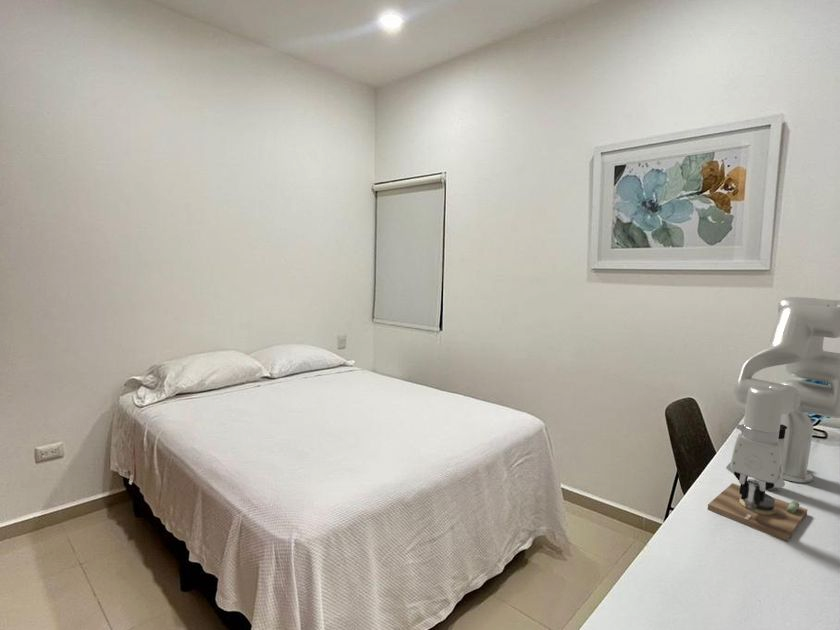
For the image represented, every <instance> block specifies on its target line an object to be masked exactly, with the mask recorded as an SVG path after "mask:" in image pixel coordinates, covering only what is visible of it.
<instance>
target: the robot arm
mask: <svg viewBox="0 0 840 630" xmlns="http://www.w3.org/2000/svg"><path fill="white" fill-rule="evenodd" d="M777 313H778V315H777V319H776V322H775V326H774V328H773V330H772V334H771V337H770V340H769V344H768V346H767V347H765V348H764V349H762V350H760V351H758V352H756V353H754V354H753V355H752V356H750V357H749V358H748V359H747V360H746V361H744V362H743V364H742V365H741V367H740V369H739V372H738V374H737V377H736V380H735V383H734V388H733V396H734V398H735V400H736V401H737V402H739V403H740V404H743V405H745V410H744V411H745V412H744V417H743V424H738V423H737V424H736V429H737V430H739V431H741V432H740V433H739V434H738V435H737V437H736V440H735V443H734V446H733V450H732V456H731V458H730V459H731V460H730V462H729V464H727V465H726V467H725V469H726V470H727V471H728V472H730V473H731V474H733V475H734V477H735V478H736V479H737V480H738V482H739V486H740V492H739V494H742V496H741V499H743V500H744V499H745V498H746V492H747V484H748V478H752V479H753V478H755V479H758V480H760V486H759V488H758V489H757V492H756V499H755V503H756V504H757V505H759V503H760V502H763V501H764V497H765V494H766V491H769V490H768V489H770V488H773V487H777V488H784V487H785V486H786V485H785V481H789V482H792V483H800V484H801V483H805V484H806V483H810V482H811V481H812V480H813V476H812V474H811V473H810V472H808V466H809V465H808V464H809V460H810V459H809V458H810V453H811V445H812V440H813V433H814V423H813V422H812V420H811V418H810V417H809V416H808V414H813V415H818V416H822V417H827V418H833V419H840V352H835V351H826V350H824V341H825V338H829V339H830V338H831V339H838V338H840V300H839V299H827V298H813V297H801V296H800V297H799V296H789V297H784V298H781V299H780V300H779V302H778V305H777ZM782 365H785V371H786V373H787V374H788V375H790V376H792V377H795V378H801V379H805V380H811V381H816V382H820V383H821V382H822V383H827V384H828V385H827V384H822V383H821V384H820V383H815V382H810V381H804V380H799V379H784V380H782V381H780V382H774V381H768V380H765V379H764V380H762V379H760V378H759V379H758V378H754V376H755V374H757V373H758V372H759V371H761V370H763V369H766V368H771V367H778V366H782ZM807 413H808V414H807ZM780 425H785V426H786V427H787V429H786V431H785V439H784V446H783V453H782V452H781V444H780V443H779V442H778V437H779V431H780Z"/></svg>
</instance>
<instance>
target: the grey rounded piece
mask: <svg viewBox="0 0 840 630" xmlns="http://www.w3.org/2000/svg"><path fill="white" fill-rule="evenodd" d="M747 481H748V484H747V492H746V498H745V499H744V500H743V501H744V502H745V508H747V509H749V510H752V511H755V510H756V509H757V508H758V509H761V510H773V509H774V504H775V500H774V498H775V497H774V498H773V496H771V495H769V494H767V493H765V497H764V501H763V502H760V503H759V505H757V504H756V503H755V499H756V492H757V489H758V488H759V482H758V481H756V480H753V478H752V479H751V478H749V479H747Z"/></svg>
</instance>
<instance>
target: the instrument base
mask: <svg viewBox="0 0 840 630" xmlns="http://www.w3.org/2000/svg"><path fill="white" fill-rule="evenodd" d="M739 492H740V484H738V483H737V484H736V483H733V482H732V483H731V484H730V485H729V486H728V487H726V488H725V489H724V490H723V491H721V493H719V494H718V495H717V496H716V497H715V498H713V499H712V500H711V501H710V502H709V503H708V504H707V510H709V511H710V510H711V512H712V513H716V514H719V515H721V516H723V517H726V518H728V519H730V520H732V521H736V522H738V523H740V524H743V525H745V526H748V527H749V528H750V527H751V528H753V529H755V530H758V531H761V532H763V533H766V534H768V535H770V536H773V537H775V538H777V539H779V540H783V541H785V542H787V543H788V542H789V540H791V538H792V536H793V535H794V534H795V532H796V531H797V529H798V528H799V527H800V525H801V524H802V522H803V521H804V519H805V518H806V516H807V514H808V509H807V508H804V507H802V506H800V503H799V502H798V501H796V500H792V501H791V502H787V501H785V500H782V499H779V498H776V497H773V496H772V497H773V498H774V500H775V504H774V509H773V510H761V509H758V508H757V509H756V510H755V511H752V510H749V509H747V508H745V502H744V501H743V499H741V496H742V494H739Z"/></svg>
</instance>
